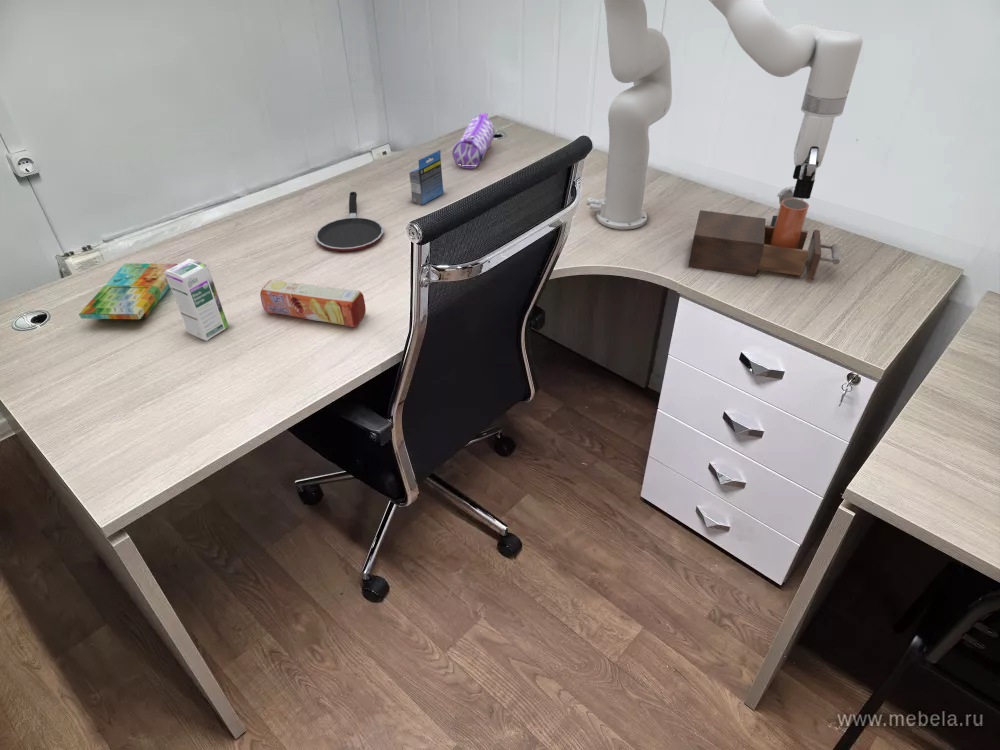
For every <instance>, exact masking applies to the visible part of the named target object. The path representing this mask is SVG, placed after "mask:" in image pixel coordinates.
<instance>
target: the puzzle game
mask: <svg viewBox="0 0 1000 750" xmlns="http://www.w3.org/2000/svg"><path fill="white" fill-rule="evenodd" d="M178 264H179V263H137V262H135V263H134V262H133V263H132V262H130V263H129V262H128V263H123V264H122V265H121V267H120V268H119V269H118V270H117V271H116V273H114V274H113V275H112V277H111V278H110V279H108V281H107V282H106V283H105V285H104V286H103V287H102V288H101V289H100V290H99V291H98V292H97V293H96V294H95V295H94V297H93V298H92V299H91V300H89V302H88V303H87V304H86V305H85V307H83V309H82V310H81V311H80V312H79V314H78V315H79V317H80V319H88V320H89V319H92V320H93V319H95V320H97V319H98V320H141V319H142V320H143V319H147V317H148V316H149V315H150V314H151V312H152V311H153V310H154V309H155V307H156V306H157V305H158V303H159V302H160V301H161V300H162V298H163V297H164V295H165V294H166V293H167V292H168V291H169V289H171V288H170V286H169V283H168V281H167V278H166V275H165V273H164V272H165V271H166V270H169V269H171V268H172V267H174V266H176V265H178Z"/></svg>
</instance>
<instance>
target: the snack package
mask: <svg viewBox="0 0 1000 750" xmlns="http://www.w3.org/2000/svg"><path fill="white" fill-rule="evenodd" d="M259 294H260V302H261V306H262V308H263V310H264V312H266V313H267V314H268V313H269V314H277V315H283V316H291V317H294V318H300V319H305V320H311V321H315V322H324V323H329V324H336V325H340V326H341V325H342V326H346V327H350V328H356V327H357V326H358V325H360V323H361V321H362V320H363V319H364V317H365V316H366V312H367V311H366V301H365V298H364V297H365V296H364V294H363V292H362V291H361V290H356V289H355V290H354V289H344V288H338V287H330V286H322V285H314V284H306V283H299V282H291V281H283V280H279V279H270V280H269V281H267V282H266V283H265V285H264V286H262V288H261V290H260V293H259Z"/></svg>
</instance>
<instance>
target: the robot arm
mask: <svg viewBox="0 0 1000 750" xmlns="http://www.w3.org/2000/svg"><path fill="white" fill-rule="evenodd" d="M603 2H604V10H605V18H606V33H607V43H608V56H609V66H610V70H611V71H610V72H611V74H612V76H613V78H614V79H615V80H616V81H617V82H619V83H622V84H631V83H633V86H631V87H629V88H626V89H625V90H623V91H622V92H620V93H619V94H618V95H616V96H615V98H614V99H613V101H612V102H611V103H610V106H609V109H608V114H607V120H608V121H607V123H608V133H609V135H608V137H609V138H608V155H607V166H606V167H607V168H606V178H605V189H604V197H600V198H594V197H587V201H586V206H589V209H590V210H597V212H596V219H597V221H598V223H600V224H601V225H603V226H604V227H607V228H610V229H615V230H624V231H625V230H634V229H639V228H640V227H642V226H644V225H645V224H646V223H647V221H648V214H647V212H646V211H645V210H644V209H643V204H644V195H645V189H646V182H647V175H648V174H647V172H648V167H649V157H650V138H649V127H650V126H653V125H654V124H655V123H656V122H658V121H660V120H661V119H662V118H664V117H665V116H666V115H667V114H668V112H669V110H670V108H671V105H672V100H673V98H672V97H673V88H672V86H673V85H672V66H671V51H670V46H669V43H668V40H667V38H666V37H665V36H664V34H663V33H662V32H661V31H659V30H658V29H656V28H653V27H648V13H647V12H648V11H647V8H646V7H647V6H646V3H645V0H603ZM708 2H710V3H711V4H712V5H713V6H714V7H715V8H716V9H717V10H718V11H719V12H720V13H721V14H722V15H723V16H724V18H725V19H726V21H727V25H728V27H729V30H730V31H731V32H732V34H733V37H734V38H735V40H736V42H737V44H738V46H739V47H741V49H742V50H743V51H744V52H745V54H747V56H749V57H750V59H752V60H753V61H754V62H755V63H756V64H757V66H759V67H760V68H761V69H762V70H764V71H765V72H766V73H768V74H770V75H771V76H773V77H778V78H785V77H790V76H791V75H794V74H795V73H797V72H798V71H800V70H801V69H805V68H808V67H810V71H809V75H808V79H807V84H806V87H805V91H804V95H803V98H802V102H801V107H800V111H801V112H802V113H804V114H803V118H802V121H801V125H800V128H799V132H798V136H797V139H796V142H795V145H794V149H793V164H794V166H795V167H794V170H793V174H792V179H794V180H796V182H795V185H794V186H795V189H794V193H793V197H794V198H803V200H809V199H810V198H811V195H812V192H813V188H814V184H815V181H816V174H817V170H818V168H819V167H821V166H822V163H823V161H824V160H823V159H824V156H825V153H826V150H827V147H828V143H829V141H830V136H831V132H832V129H833V126H834V121H835V118H837V117H840V116H842V115H843V112H844V109H845V105H846V102H847V99H848V95H849V91H850V88H851V85H852V82H853V78H854V74H855V71H856V68H857V64H858V61H859V57H860V54H861V50H862V46H863V38H862V36H861V35H860V34H858V33H857V32H853V31H848V30H830V29H827V28H822V27H820V26H817V25H813V24H809V23H800V24H796V25H794V26H792V27H789V28H788V29H787V28H786V27H785V26H784V25H783V24H782V23H781V22H780V21H779V20H777V18H776V17H774V15H773V14H772V13H771V11H770V10H769V8H768V7H767V5H766V4H765V1H764V0H708Z"/></svg>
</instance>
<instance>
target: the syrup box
mask: <svg viewBox="0 0 1000 750" xmlns="http://www.w3.org/2000/svg"><path fill="white" fill-rule="evenodd" d="M177 264H178V265H176V266H174V267H172V268H171V269H169V270H166V271H165V272H164V273H165V275H166V278H167V281H168V283H169V286H170V288H169V289H170V291H171V294H172V296H173V298H174V300H175V301H174V302H175V303H176V305H177V308H178V311H179V313H180V316H181V318H182V320H183V323H184V326H185V329H186V331H187V333H188V334H190V335H191V336H194V337H196V338H197V339H201V340H203V341H205V342H208V341H209V340H210V339H211V338H213V337H215V336H216V335H218V334H220V333H221V332H223V331H225V330H226V329H228V328H230V327H229V323H228V321H227V318H226V315H225V312H224V309H223V306H222V303H221V300H220V297H219V293H218V291H217V288H216V286H215V282H214V280H213V276H212V273H211V271H210V268H209V266H208V265H207V264H205V263H203V262H201V261H199V260H195V259H193V258H187V259H186V260H184V261H183V262H181V263H177Z"/></svg>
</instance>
